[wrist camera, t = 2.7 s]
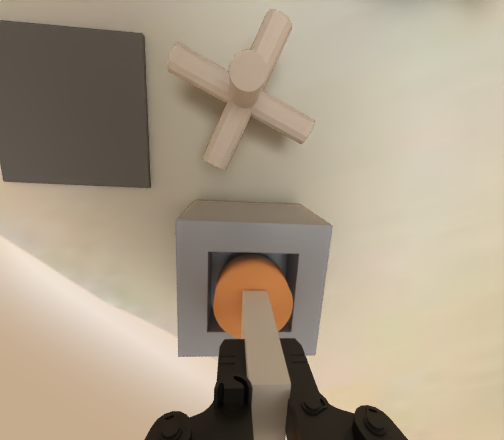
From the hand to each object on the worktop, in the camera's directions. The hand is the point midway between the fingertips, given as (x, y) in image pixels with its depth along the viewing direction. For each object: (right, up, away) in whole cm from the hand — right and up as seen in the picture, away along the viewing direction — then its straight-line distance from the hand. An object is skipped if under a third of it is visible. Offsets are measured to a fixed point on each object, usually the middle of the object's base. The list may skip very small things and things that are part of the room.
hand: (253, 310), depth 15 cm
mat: (-15, +15, +5) cm, 22 cm away
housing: (-1, +2, +9) cm, 10 cm away
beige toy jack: (-1, +15, +6) cm, 16 cm away
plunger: (0, +1, +3) cm, 3 cm away
